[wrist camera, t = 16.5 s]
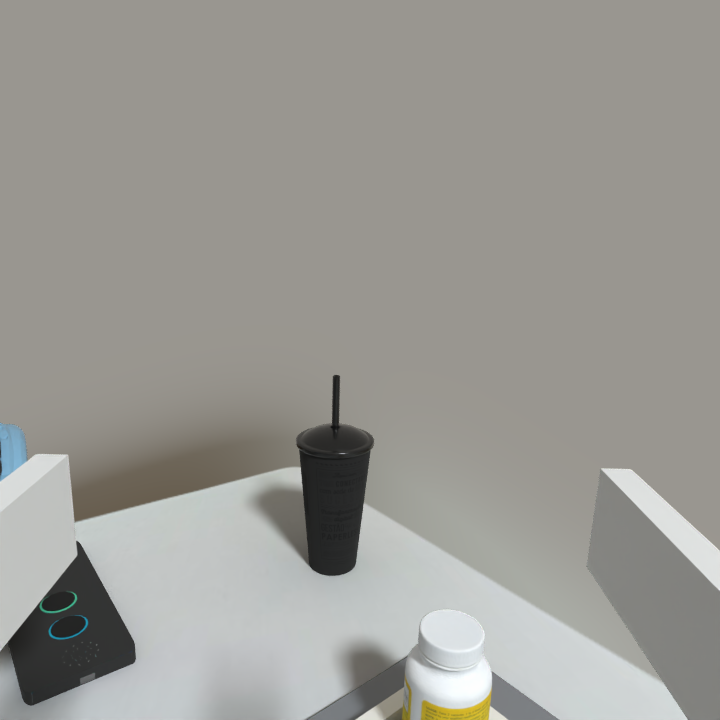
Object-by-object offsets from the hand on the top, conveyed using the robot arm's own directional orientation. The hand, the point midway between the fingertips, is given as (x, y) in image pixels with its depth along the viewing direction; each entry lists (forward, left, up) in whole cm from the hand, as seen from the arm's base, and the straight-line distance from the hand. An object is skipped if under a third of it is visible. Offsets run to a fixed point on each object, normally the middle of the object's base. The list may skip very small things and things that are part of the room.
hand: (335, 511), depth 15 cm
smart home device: (-41, +1, -28) cm, 50 cm away
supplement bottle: (-9, +17, -27) cm, 33 cm away
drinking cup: (-32, +26, -28) cm, 50 cm away
